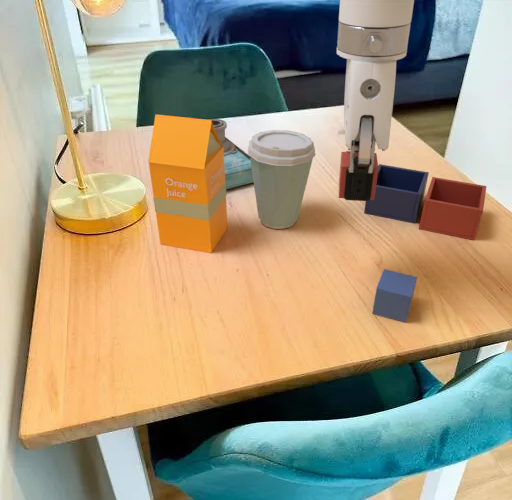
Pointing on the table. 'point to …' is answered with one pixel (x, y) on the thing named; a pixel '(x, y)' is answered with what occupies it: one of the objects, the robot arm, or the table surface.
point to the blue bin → (398, 193)
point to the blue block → (394, 295)
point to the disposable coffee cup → (280, 174)
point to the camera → (233, 159)
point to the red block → (345, 165)
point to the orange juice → (188, 182)
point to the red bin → (453, 208)
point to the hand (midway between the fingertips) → (356, 188)
